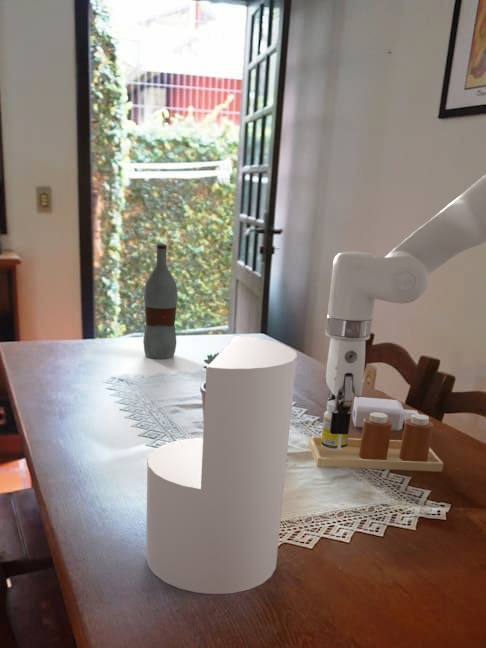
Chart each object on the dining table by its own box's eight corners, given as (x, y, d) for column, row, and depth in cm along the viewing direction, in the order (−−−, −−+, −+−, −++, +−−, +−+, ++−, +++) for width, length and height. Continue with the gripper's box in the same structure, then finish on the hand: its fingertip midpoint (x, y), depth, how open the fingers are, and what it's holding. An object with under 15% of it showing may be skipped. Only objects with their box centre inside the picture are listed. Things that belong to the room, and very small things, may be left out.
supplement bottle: (341, 442, 128) (346, 398, 124) (350, 451, 123) (356, 406, 120) (317, 442, 127) (321, 399, 124) (325, 451, 123) (330, 407, 119)
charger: (428, 436, 139) (354, 429, 141) (422, 421, 148) (351, 415, 150) (432, 414, 138) (357, 407, 139) (425, 400, 146) (354, 394, 148)
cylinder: (283, 537, 97) (303, 341, 86) (266, 604, 81) (288, 375, 70) (166, 520, 100) (171, 329, 89) (128, 581, 85) (128, 359, 74)
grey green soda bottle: (162, 350, 199) (164, 242, 187) (182, 356, 193) (186, 245, 181) (136, 354, 193) (137, 243, 181) (156, 361, 187) (158, 246, 175)
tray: (423, 450, 131) (425, 441, 131) (441, 474, 121) (443, 463, 120) (308, 446, 131) (309, 436, 130) (316, 468, 121) (318, 458, 120)
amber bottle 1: (383, 452, 128) (389, 411, 125) (389, 462, 124) (396, 419, 120) (356, 451, 128) (362, 409, 125) (362, 461, 124) (368, 418, 120)
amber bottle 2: (422, 454, 128) (430, 412, 125) (430, 464, 124) (438, 421, 120) (396, 453, 128) (403, 411, 125) (403, 463, 124) (410, 420, 120)
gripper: (382, 339, 109) (366, 446, 116) (360, 319, 124) (347, 414, 132) (335, 337, 109) (322, 444, 116) (319, 317, 124) (309, 412, 131)
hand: (336, 427), depth 124 cm, fingers closed on supplement bottle, 4 cm apart
